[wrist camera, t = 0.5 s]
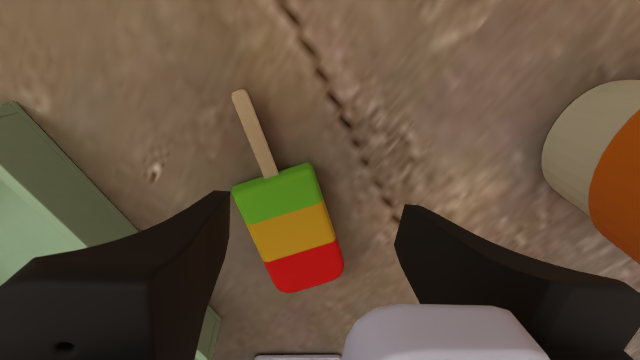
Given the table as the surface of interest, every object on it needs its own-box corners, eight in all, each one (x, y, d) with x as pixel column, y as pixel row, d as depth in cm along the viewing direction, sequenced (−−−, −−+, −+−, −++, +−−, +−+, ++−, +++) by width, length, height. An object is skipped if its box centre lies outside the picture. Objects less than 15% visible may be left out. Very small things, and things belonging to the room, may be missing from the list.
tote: (221, 318, 26) (211, 363, 22) (106, 374, 27) (79, 426, 24) (16, 101, 18) (-53, 116, 14) (-136, 194, 19) (-235, 230, 15)
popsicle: (279, 282, 25) (279, 300, 23) (196, 102, 19) (188, 107, 17) (344, 262, 25) (349, 278, 23) (282, 73, 19) (282, 76, 17)
